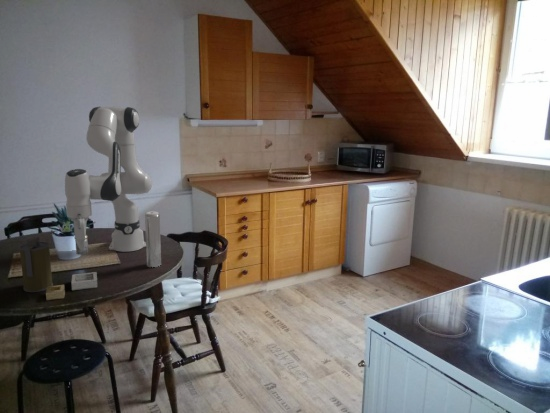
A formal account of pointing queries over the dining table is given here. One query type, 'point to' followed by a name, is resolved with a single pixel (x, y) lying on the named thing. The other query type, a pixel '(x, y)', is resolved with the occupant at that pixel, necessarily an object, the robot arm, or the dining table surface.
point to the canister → (35, 265)
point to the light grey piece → (153, 239)
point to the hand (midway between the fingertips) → (81, 245)
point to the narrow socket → (55, 292)
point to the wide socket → (84, 281)
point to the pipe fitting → (82, 250)
